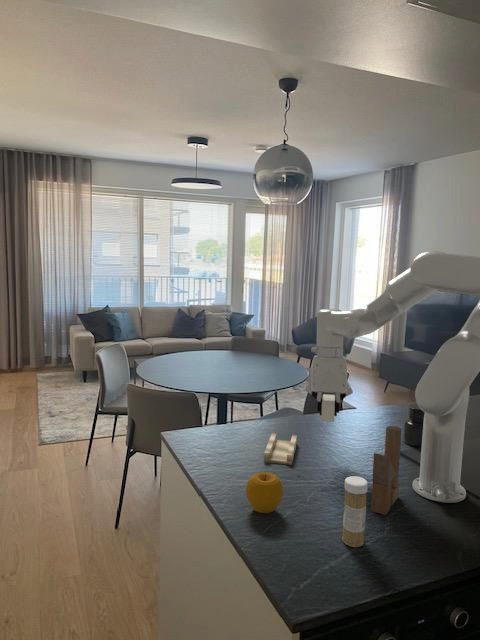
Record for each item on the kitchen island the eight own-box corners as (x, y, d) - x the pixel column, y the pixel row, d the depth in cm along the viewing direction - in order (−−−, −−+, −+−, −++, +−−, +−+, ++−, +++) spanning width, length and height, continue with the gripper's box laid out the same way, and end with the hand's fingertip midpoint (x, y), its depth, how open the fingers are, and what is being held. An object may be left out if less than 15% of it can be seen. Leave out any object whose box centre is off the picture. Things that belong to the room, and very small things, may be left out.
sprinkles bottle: (349, 533, 103) (352, 473, 102) (368, 541, 100) (372, 480, 99) (337, 542, 100) (340, 480, 98) (357, 551, 97) (360, 487, 95)
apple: (251, 523, 107) (252, 484, 106) (240, 504, 115) (241, 468, 114) (287, 517, 109) (288, 480, 108) (274, 499, 117) (275, 465, 116)
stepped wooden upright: (370, 511, 113) (374, 437, 110) (384, 493, 122) (388, 424, 119) (386, 516, 111) (390, 440, 108) (399, 497, 120) (403, 427, 117)
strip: (334, 421, 134) (334, 406, 134) (321, 421, 135) (321, 405, 134) (334, 409, 146) (334, 394, 145) (322, 408, 147) (323, 394, 146)
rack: (291, 464, 137) (292, 455, 137) (263, 461, 139) (264, 452, 139) (296, 444, 153) (296, 435, 153) (271, 441, 154) (271, 433, 154)
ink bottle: (429, 438, 160) (431, 403, 159) (437, 448, 151) (439, 411, 150) (398, 437, 161) (401, 401, 160) (405, 447, 152) (407, 410, 151)
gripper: (299, 353, 136) (298, 416, 138) (359, 355, 133) (358, 420, 135) (301, 349, 144) (300, 409, 146) (358, 351, 140) (357, 412, 142)
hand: (328, 413), depth 140 cm, fingers closed on strip, 3 cm apart
